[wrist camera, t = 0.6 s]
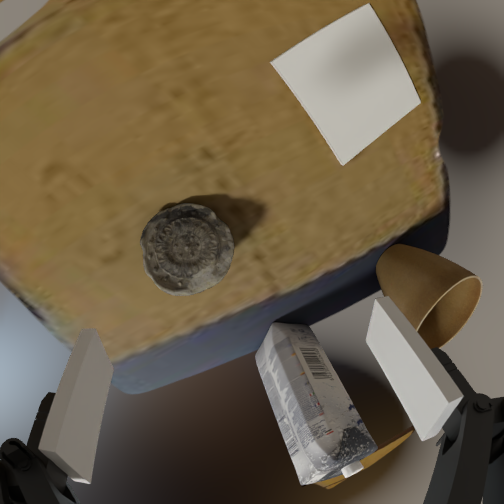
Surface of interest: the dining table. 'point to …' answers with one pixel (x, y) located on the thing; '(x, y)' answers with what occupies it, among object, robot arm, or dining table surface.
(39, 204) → the dining table surface
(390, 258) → the plant pot
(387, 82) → the white mat
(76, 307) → the dining table surface
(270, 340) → the juice carton
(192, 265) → the fossil
